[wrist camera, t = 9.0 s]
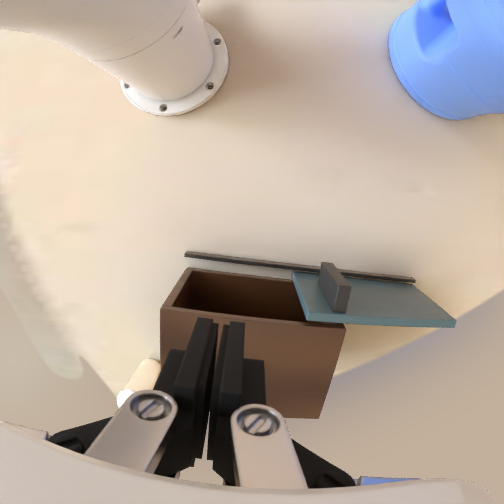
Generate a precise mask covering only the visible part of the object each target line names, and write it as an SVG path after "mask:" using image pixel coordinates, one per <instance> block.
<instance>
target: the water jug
mask: <svg viewBox="0 0 504 504" xmlns="http://www.w3.org/2000/svg"><path fill="white" fill-rule="evenodd" d="M388 48H389V55H390V59H391V63H392V66H393V68H394V71H395V73H396V75H397V77H398V79H399V80H400V82H401V84H402V85H403V87H404V88H405V89H406V91H407V92H408V93H409V94H410V95H411V97H412V98H413V99H414V100H415V101H416V102H417V103H419V104H420V105H421V106H422V107H424V108H425V109H426V110H428V111H429V112H431V113H433V114H435V115H437V116H439V117H442V118H445V119H450V120H462V119H468V118H472V117H475V116H479V115H485V114H491V113H493V114H500V113H504V0H418V1H417V2H416V3H415V4H414V5H413V6H412V7H411V8H410V9H408V10H406V11H405V12H404V13H402V14H401V15H400V16H399V17H398V18H397V19H396V20H395V22H394V23H393V25H392V27H391V30H390V33H389V39H388Z"/></svg>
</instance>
